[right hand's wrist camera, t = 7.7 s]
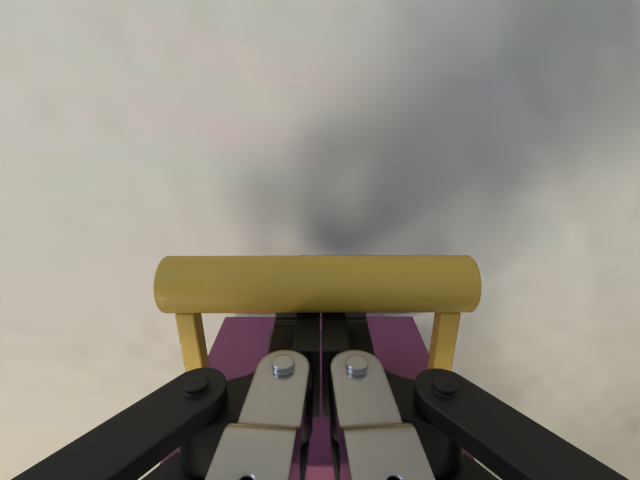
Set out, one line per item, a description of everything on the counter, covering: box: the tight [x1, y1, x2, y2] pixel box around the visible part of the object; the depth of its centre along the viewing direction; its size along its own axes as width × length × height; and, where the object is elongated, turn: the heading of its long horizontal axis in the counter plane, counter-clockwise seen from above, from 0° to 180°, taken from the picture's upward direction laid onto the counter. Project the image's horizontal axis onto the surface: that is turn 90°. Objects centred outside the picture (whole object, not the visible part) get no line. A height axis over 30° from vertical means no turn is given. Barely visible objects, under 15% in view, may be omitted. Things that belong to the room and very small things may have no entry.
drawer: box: [154, 255, 481, 480], centre depth 15 cm, size 21×9×8 cm, turn 0°
